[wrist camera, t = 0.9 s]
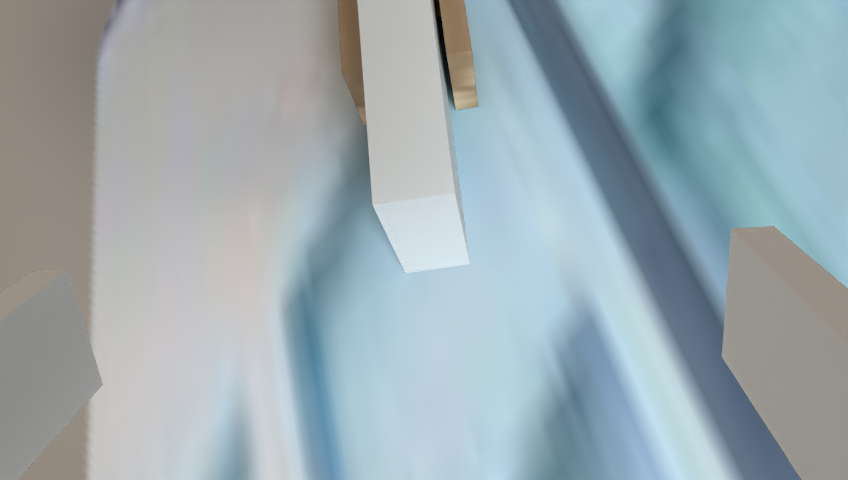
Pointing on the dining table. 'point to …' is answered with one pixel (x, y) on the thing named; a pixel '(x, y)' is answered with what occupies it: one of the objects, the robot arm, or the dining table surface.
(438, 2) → the sleeve box
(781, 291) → the robot arm
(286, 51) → the dining table surface
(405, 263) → the light grey rectangular block
